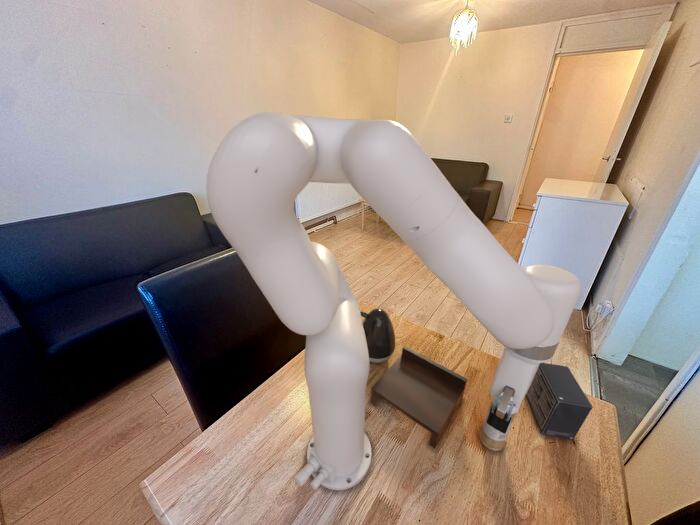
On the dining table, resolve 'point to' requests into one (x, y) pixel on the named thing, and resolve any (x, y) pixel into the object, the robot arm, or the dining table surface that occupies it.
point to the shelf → (421, 391)
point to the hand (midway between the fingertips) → (503, 408)
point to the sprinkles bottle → (491, 435)
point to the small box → (557, 401)
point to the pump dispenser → (378, 335)
